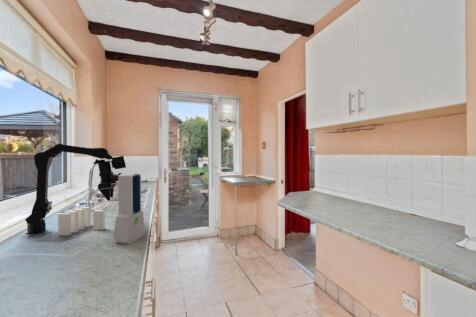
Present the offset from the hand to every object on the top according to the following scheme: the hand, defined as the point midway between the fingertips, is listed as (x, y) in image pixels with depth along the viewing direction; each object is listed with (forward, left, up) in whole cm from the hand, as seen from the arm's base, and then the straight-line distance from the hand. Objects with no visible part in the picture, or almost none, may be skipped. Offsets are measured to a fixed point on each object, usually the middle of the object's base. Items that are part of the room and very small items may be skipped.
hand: (110, 198), depth 128 cm
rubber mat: (-11, -15, -14) cm, 23 cm away
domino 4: (-11, -5, -14) cm, 18 cm away
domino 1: (-11, -19, -14) cm, 25 cm away
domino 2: (-11, -14, -14) cm, 22 cm away
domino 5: (0, -9, -14) cm, 17 cm away
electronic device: (+22, -20, -14) cm, 33 cm away
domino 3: (-11, -10, -14) cm, 20 cm away
